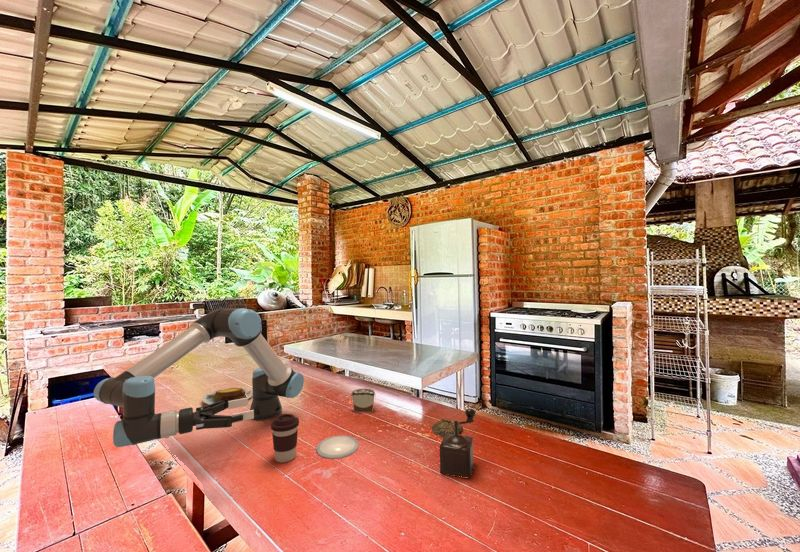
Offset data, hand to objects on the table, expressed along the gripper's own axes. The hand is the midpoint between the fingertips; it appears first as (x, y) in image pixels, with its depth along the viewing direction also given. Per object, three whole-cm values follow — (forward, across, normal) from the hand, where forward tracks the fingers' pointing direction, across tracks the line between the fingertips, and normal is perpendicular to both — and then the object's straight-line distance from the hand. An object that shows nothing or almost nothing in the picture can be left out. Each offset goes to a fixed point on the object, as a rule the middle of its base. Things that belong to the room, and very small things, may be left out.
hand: (250, 407), depth 115 cm
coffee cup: (+12, 0, -22) cm, 24 cm away
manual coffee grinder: (+63, +39, -22) cm, 77 cm away
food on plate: (-1, -79, -22) cm, 82 cm away
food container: (+56, -23, -21) cm, 64 cm away
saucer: (+31, +4, -21) cm, 38 cm away
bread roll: (+76, +17, -22) cm, 80 cm away
